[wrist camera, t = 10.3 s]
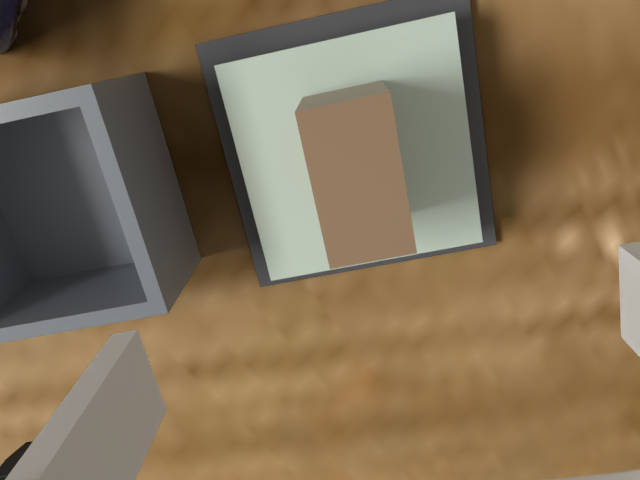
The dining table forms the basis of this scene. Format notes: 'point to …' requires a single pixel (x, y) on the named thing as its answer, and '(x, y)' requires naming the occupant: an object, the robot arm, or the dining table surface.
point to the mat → (404, 6)
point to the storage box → (88, 211)
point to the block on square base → (355, 147)
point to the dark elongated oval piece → (9, 21)
